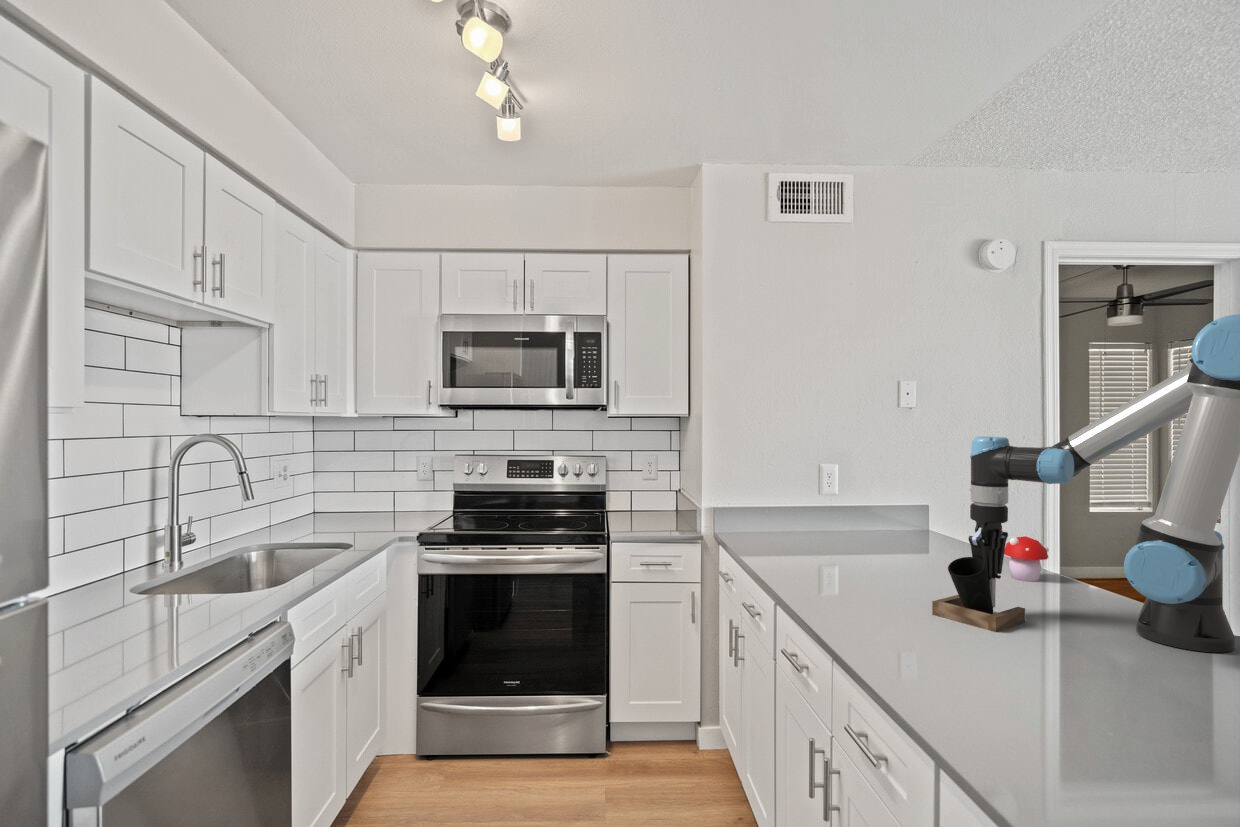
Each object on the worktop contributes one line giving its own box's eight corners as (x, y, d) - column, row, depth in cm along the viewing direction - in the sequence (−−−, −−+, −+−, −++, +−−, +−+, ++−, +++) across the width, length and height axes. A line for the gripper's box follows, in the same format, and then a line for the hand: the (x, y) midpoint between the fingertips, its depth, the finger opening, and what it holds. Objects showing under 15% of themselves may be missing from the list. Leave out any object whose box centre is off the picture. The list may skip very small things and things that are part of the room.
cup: (1004, 617, 141) (992, 570, 138) (968, 625, 143) (955, 580, 140) (989, 597, 148) (977, 553, 146) (955, 606, 150) (942, 562, 147)
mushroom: (1035, 574, 186) (1035, 533, 186) (1057, 584, 175) (1057, 540, 175) (996, 573, 187) (996, 532, 187) (1016, 583, 176) (1016, 539, 176)
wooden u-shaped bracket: (1025, 621, 142) (1025, 608, 142) (995, 631, 135) (995, 617, 135) (962, 606, 154) (962, 593, 154) (932, 614, 147) (932, 601, 147)
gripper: (987, 499, 154) (986, 597, 155) (957, 503, 147) (956, 606, 148) (1020, 503, 148) (1019, 605, 148) (990, 508, 141) (989, 615, 141)
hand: (987, 606), depth 148 cm, fingers closed
